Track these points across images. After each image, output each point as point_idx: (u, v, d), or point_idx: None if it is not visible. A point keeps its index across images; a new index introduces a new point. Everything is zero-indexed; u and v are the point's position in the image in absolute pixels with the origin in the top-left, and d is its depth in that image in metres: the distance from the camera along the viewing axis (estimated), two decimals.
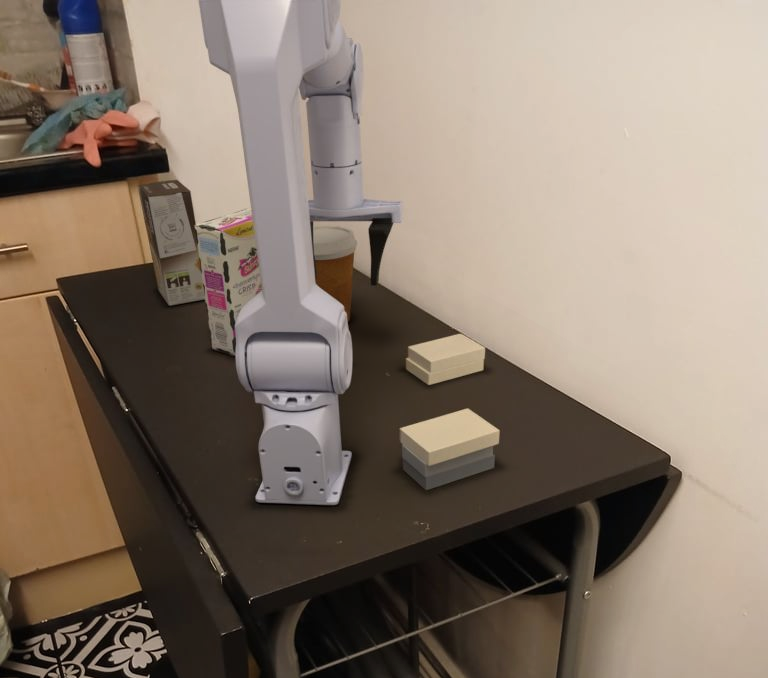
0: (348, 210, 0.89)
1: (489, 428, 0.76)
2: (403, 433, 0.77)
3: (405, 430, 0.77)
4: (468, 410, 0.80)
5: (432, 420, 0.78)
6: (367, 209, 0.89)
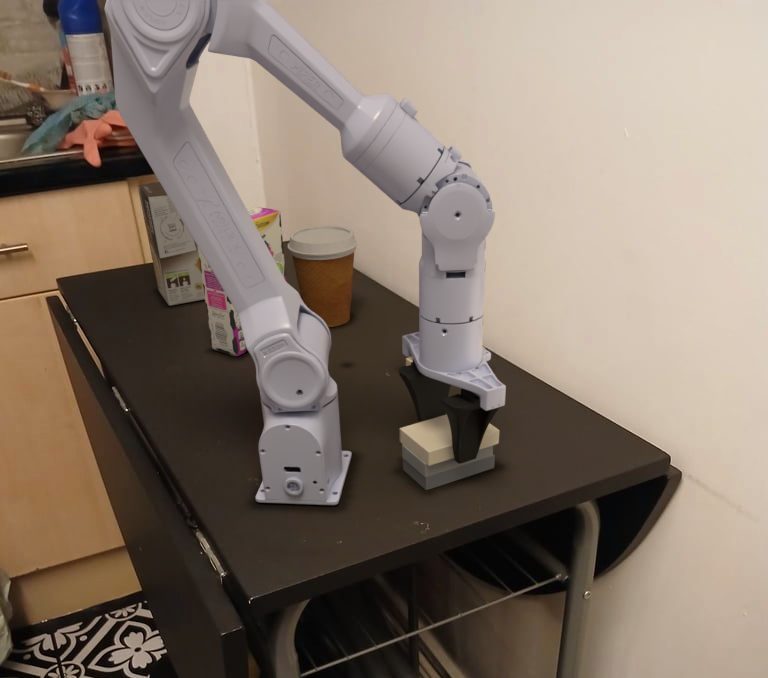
0: (434, 372, 0.70)
1: (489, 428, 0.76)
2: (403, 433, 0.77)
3: (405, 430, 0.77)
4: None
5: (432, 419, 0.78)
6: (453, 379, 0.69)
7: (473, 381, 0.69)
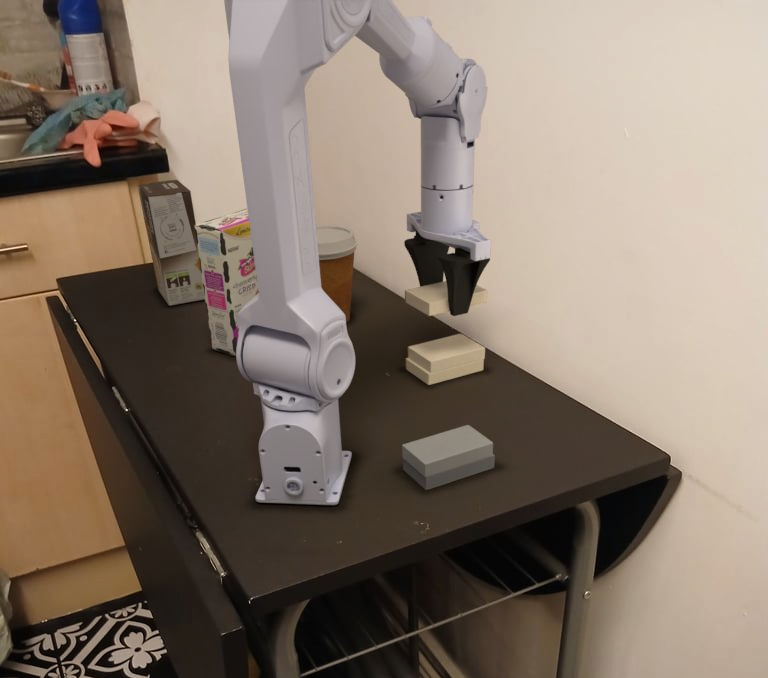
0: (433, 234, 0.86)
1: (479, 289, 0.92)
2: (408, 293, 0.93)
3: (409, 291, 0.93)
4: None
5: (432, 284, 0.94)
6: (449, 238, 0.85)
7: (465, 238, 0.85)
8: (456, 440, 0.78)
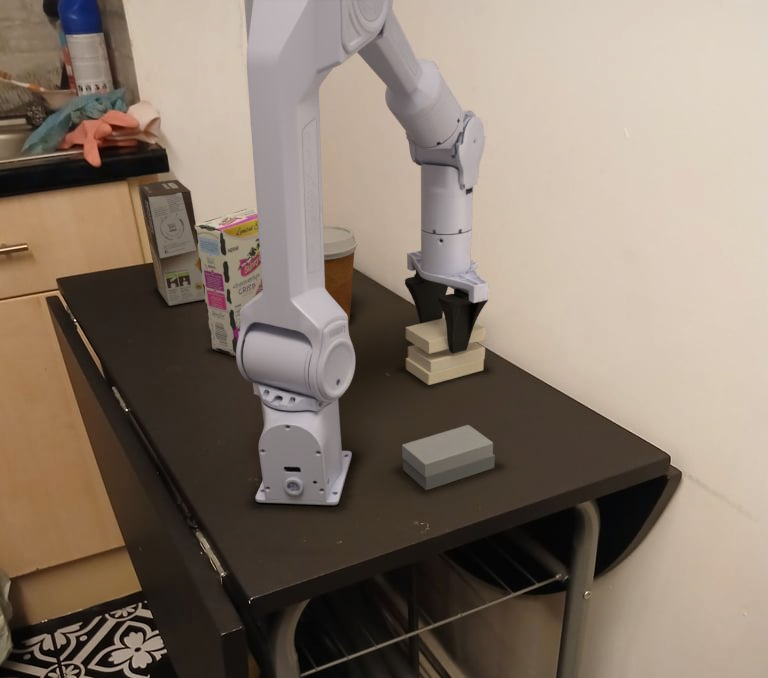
0: (433, 275, 0.89)
1: (477, 326, 0.95)
2: (408, 330, 0.95)
3: (410, 328, 0.95)
4: None
5: (431, 321, 0.97)
6: (448, 280, 0.88)
7: (463, 281, 0.88)
8: (456, 440, 0.78)
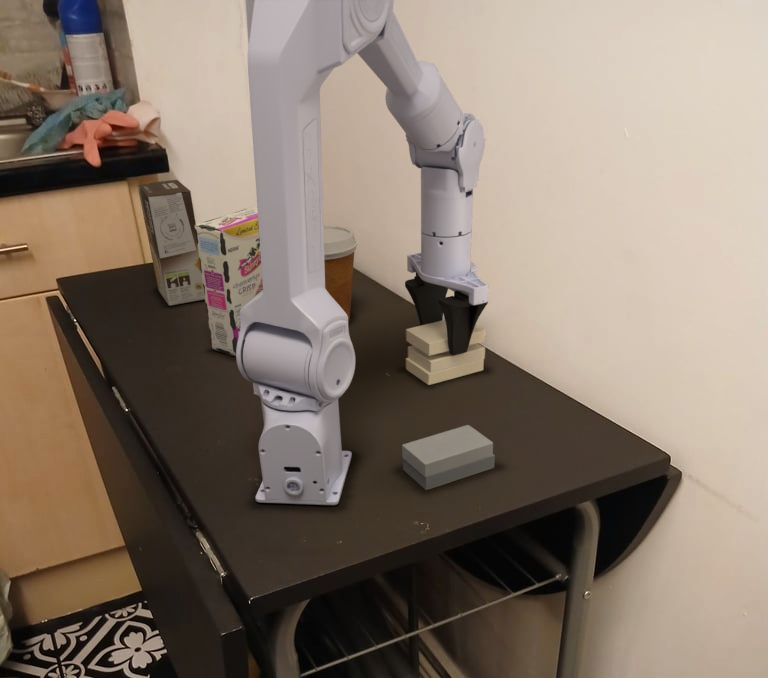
0: (433, 278, 0.89)
1: (477, 328, 0.95)
2: (408, 332, 0.95)
3: (410, 330, 0.96)
4: None
5: (431, 323, 0.97)
6: (448, 282, 0.88)
7: (463, 283, 0.88)
8: (456, 440, 0.78)
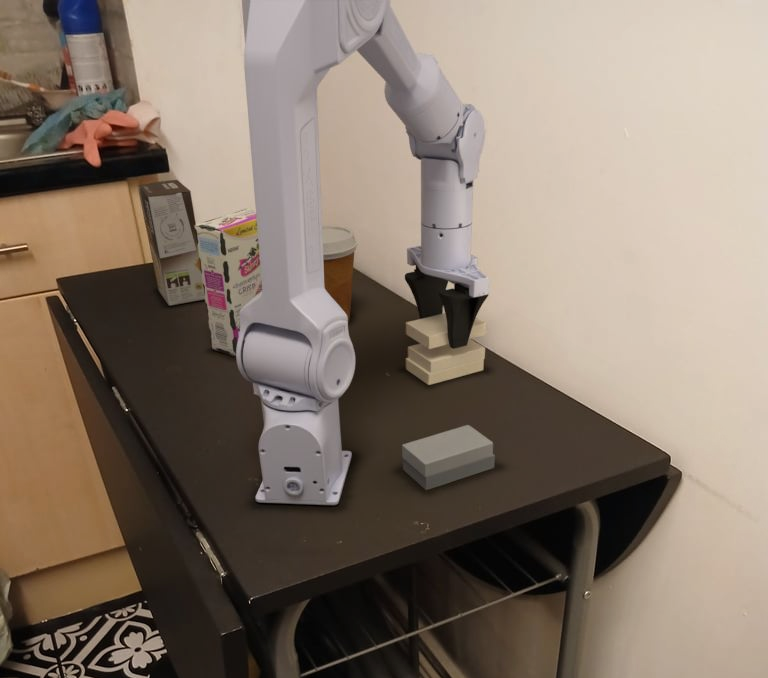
0: (433, 270, 0.89)
1: (478, 321, 0.95)
2: (408, 326, 0.95)
3: (410, 323, 0.95)
4: None
5: (431, 317, 0.97)
6: (448, 274, 0.88)
7: (463, 275, 0.87)
8: (456, 440, 0.78)
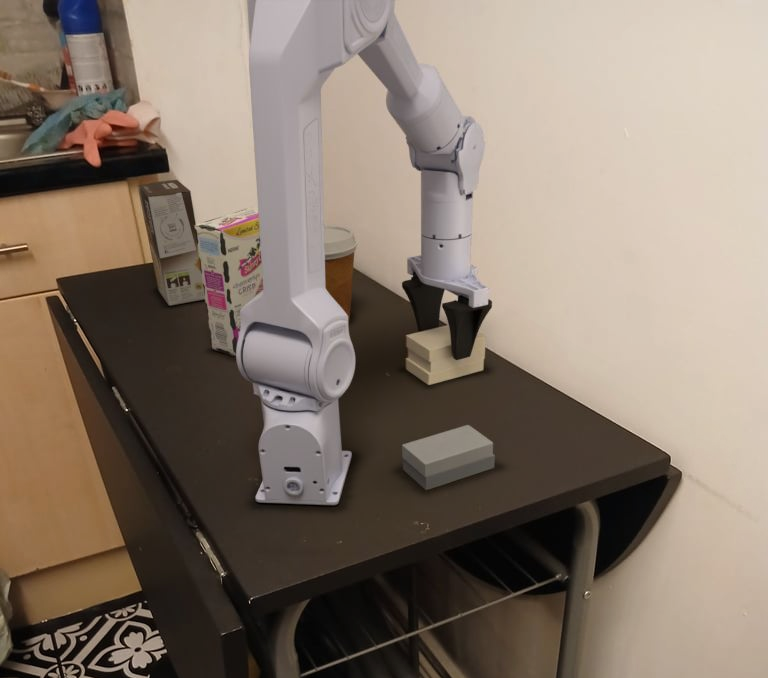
0: (433, 280, 0.89)
1: (477, 334, 0.96)
2: (409, 338, 0.96)
3: (410, 336, 0.96)
4: None
5: (432, 329, 0.98)
6: (448, 285, 0.88)
7: (463, 286, 0.88)
8: (456, 440, 0.78)
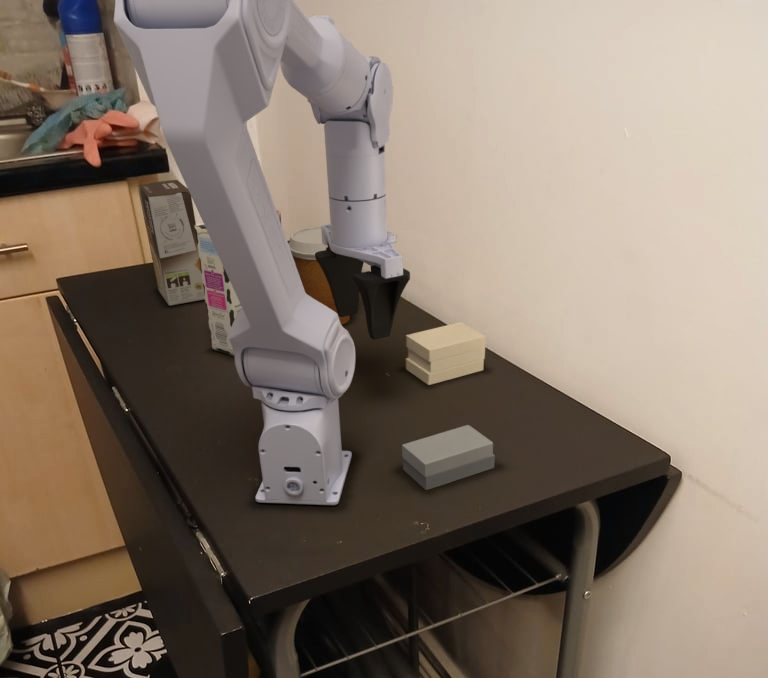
0: (342, 248, 0.79)
1: (477, 334, 0.96)
2: (409, 338, 0.96)
3: (410, 336, 0.96)
4: (461, 323, 0.99)
5: (432, 329, 0.98)
6: (358, 253, 0.78)
7: (375, 254, 0.77)
8: (456, 440, 0.78)
